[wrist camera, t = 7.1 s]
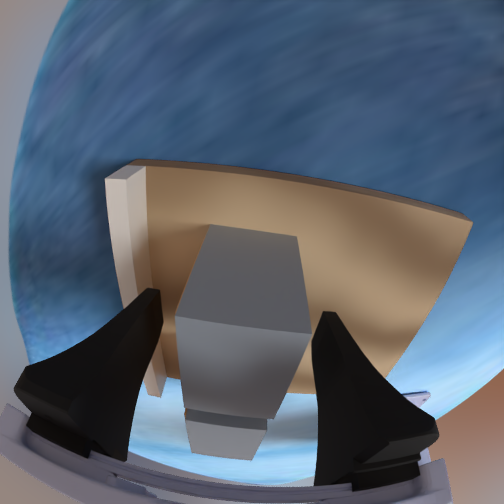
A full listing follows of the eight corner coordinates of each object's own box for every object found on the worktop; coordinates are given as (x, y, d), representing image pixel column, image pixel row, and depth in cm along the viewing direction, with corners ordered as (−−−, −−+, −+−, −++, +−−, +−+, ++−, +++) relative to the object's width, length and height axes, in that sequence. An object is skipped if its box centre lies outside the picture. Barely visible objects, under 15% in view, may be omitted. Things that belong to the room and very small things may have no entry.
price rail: (166, 376, 20) (160, 397, 18) (153, 374, 20) (146, 394, 18) (145, 166, 12) (126, 179, 10) (124, 165, 12) (102, 178, 10)
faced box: (256, 390, 20) (251, 460, 15) (202, 383, 20) (189, 452, 15) (268, 342, 17) (266, 430, 12) (201, 333, 17) (181, 419, 12)
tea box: (274, 326, 16) (273, 419, 11) (203, 317, 16) (180, 407, 11) (296, 236, 13) (312, 333, 8) (207, 223, 13) (169, 314, 8)
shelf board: (370, 382, 21) (373, 393, 20) (158, 362, 21) (154, 374, 20) (462, 213, 13) (473, 222, 12) (137, 159, 13) (126, 165, 12)
